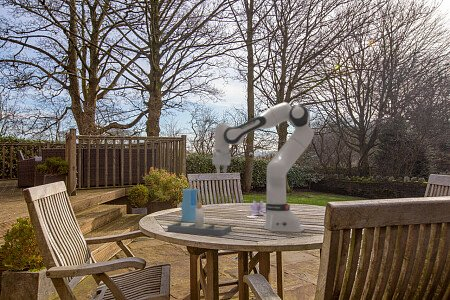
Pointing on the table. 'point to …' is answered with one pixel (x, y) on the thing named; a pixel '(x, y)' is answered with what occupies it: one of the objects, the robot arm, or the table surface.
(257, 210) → the water lily
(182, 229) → the cable organizer
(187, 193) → the vase
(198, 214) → the orange capped bottle
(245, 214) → the table surface
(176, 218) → the table surface
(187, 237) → the table surface
